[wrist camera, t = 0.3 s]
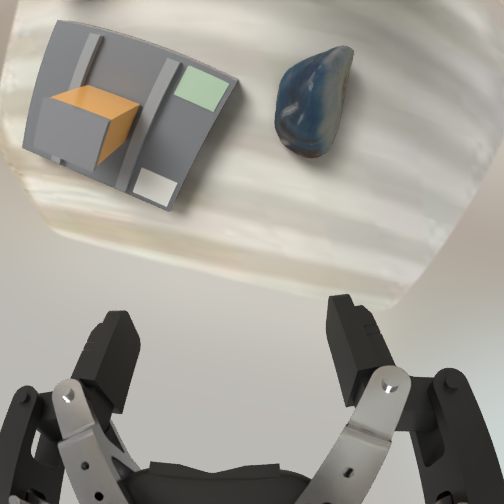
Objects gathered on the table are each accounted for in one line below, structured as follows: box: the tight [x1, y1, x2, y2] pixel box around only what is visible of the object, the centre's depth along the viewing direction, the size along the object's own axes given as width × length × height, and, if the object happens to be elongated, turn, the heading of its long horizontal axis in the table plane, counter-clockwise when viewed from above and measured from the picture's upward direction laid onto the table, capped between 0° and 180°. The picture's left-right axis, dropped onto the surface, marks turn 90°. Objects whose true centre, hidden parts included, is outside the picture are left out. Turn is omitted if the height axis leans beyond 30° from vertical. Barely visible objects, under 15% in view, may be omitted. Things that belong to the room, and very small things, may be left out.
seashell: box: [275, 46, 354, 158], centre depth 24 cm, size 6×9×10 cm
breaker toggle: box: [33, 85, 140, 172], centre depth 20 cm, size 4×6×7 cm
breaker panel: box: [22, 20, 238, 212], centre depth 24 cm, size 15×20×4 cm
